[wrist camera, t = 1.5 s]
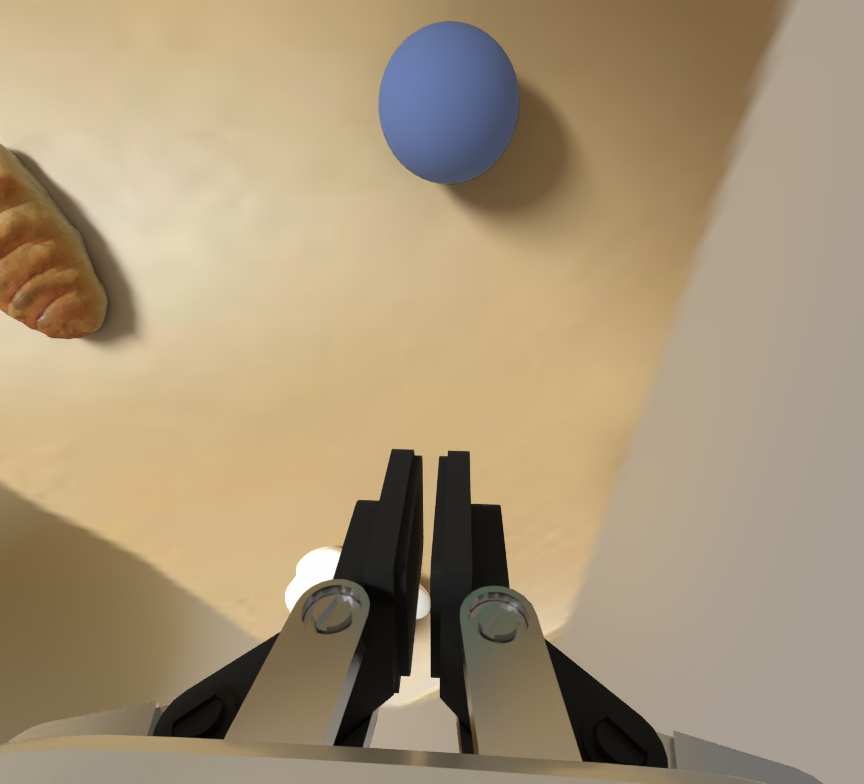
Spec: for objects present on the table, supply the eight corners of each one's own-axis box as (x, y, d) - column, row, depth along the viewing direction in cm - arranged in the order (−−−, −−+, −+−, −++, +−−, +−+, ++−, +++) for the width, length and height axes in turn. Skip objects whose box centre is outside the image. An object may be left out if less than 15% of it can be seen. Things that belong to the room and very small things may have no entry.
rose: (405, 575, 28) (443, 682, 32) (412, 524, 32) (445, 625, 36) (248, 597, 30) (302, 697, 34) (273, 546, 34) (319, 640, 38)
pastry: (149, 293, 27) (102, 314, 23) (70, 353, 28) (16, 381, 25) (4, 127, 23) (-76, 123, 20) (-73, 208, 25) (-159, 216, 22)
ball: (365, 88, 22) (336, 67, 17) (476, 9, 20) (480, -40, 15) (428, 204, 24) (419, 216, 19) (533, 139, 22) (554, 133, 17)
